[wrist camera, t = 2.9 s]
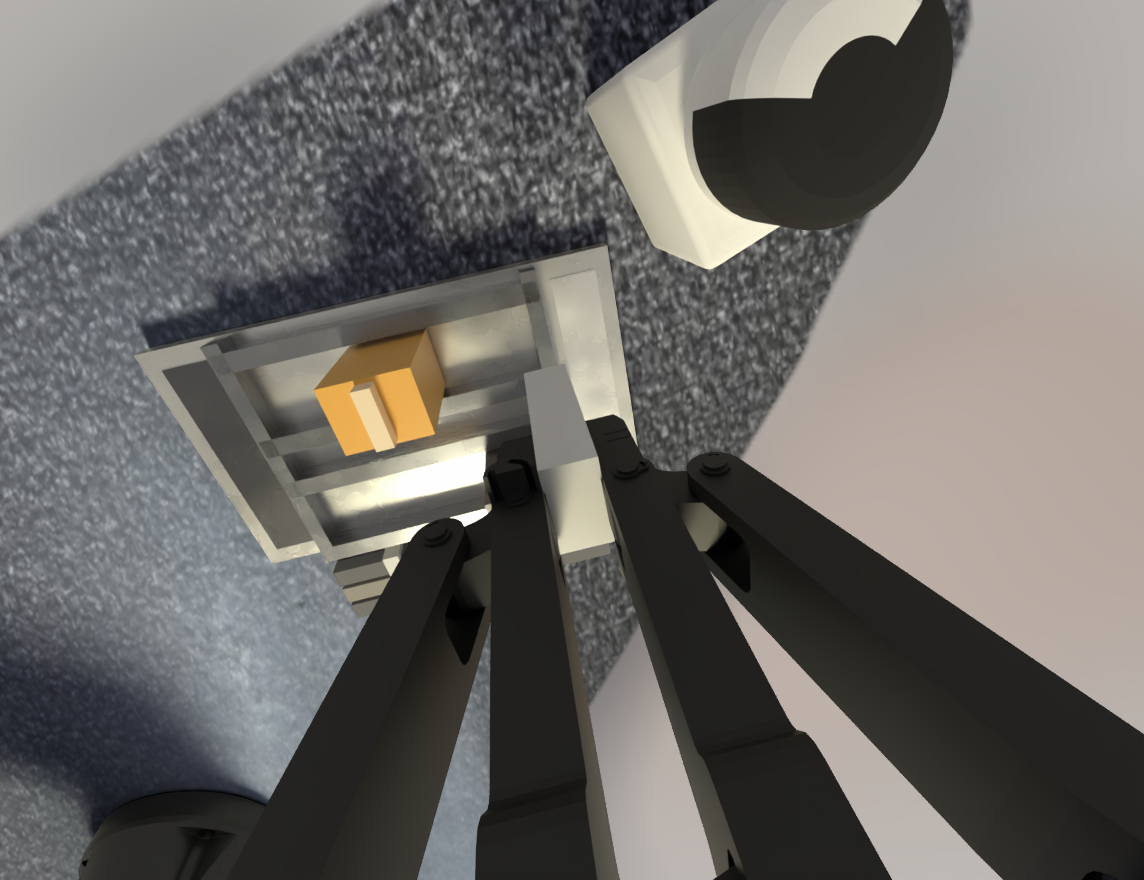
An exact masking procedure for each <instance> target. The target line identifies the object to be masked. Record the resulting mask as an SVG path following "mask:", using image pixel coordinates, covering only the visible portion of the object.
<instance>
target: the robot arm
mask: <svg viewBox="0 0 1144 880" xmlns="http://www.w3.org/2000/svg"><path fill="white" fill-rule="evenodd" d="M524 380H525V387H526V394H527V401H528V408H529V415H530V422H531V430H532V435H529V436H525V437H521V438H516V439H512V440H508V441H504V442H503V443H502V445H501V446H500V448H499V449H498V451H497V462H496V463H494V464H492V465H490V466H489V467H488V468H487V469H486V470H485V471H484V474H483V477H482V479H483V482H484V485H485V487H486V490H487V493H488V496H489V499H490V502H491V511H490V512H489V513H488V514H486V515H485V516H484V517H482V518H480V519H479V520H477V521H475V522H473V523H471V524H468V525H466V526H464V525H463V523H462V521H460V520H458V519H456V518H443V519H438V520H435V521H432V522H430V523H428V524H426V525H425V526H423V527H422V528H421V529H419V530H418V531H417V532H416V533H415V535H414V536H413V537H412V538H411V540H410V542H409V544H408V546H407V548H406V550H405V551H404V553H403V555H402V557H401V559H400V561H399V562H398V564H397V566H396V568H395V570H394V572H393V573H392V575H391V577H390V579H389V581H388V583H387V584H386V586H385V588H384V590H383V592H382V594H381V596H380V597H379V599H378V601H377V603H376V605H375V607H374V608H373V610H372V612H371V614H370V616H369V618H368V619H367V621H366V623H365V625H364V627H363V629H362V630H361V632H360V634H359V636H358V638H357V640H356V641H355V643H354V645H353V647H352V649H351V651H350V653H349V654H348V656H347V658H346V660H345V662H344V664H343V665H342V667H341V669H340V671H339V673H338V675H337V676H336V678H335V680H334V682H333V684H332V686H331V687H330V689H329V691H328V693H327V695H326V697H325V699H324V700H323V702H322V704H321V706H320V708H319V710H318V711H317V713H316V715H315V717H314V719H313V721H312V722H311V724H310V726H309V728H308V730H307V732H306V733H305V735H304V737H303V739H302V741H301V743H300V744H299V746H298V748H297V750H296V752H295V754H294V756H293V757H292V759H291V761H290V763H289V765H288V767H287V768H286V770H285V772H284V774H283V776H282V778H281V779H280V781H279V783H278V785H277V787H276V789H275V790H274V792H273V794H272V796H271V798H270V800H269V802H268V803H267V805H266V807H265V806H263V805H261V804H259V803H257V802H254V801H251V800H248V799H245V798H242V797H238V796H233V795H228V794H222V793H214V792H197V791H190V792H173V793H165V794H159V795H154V796H150V797H146V798H142V799H139V800H136V801H133V802H131V803H128V804H126V805H124V806H122V807H120V808H118V809H117V810H115V811H114V812H112V813H111V814H110V815H109V816H107V817H106V818H105V820H104V821H103V822H102V824H101V825H100V827H99V828H98V830H97V832H96V833H95V835H94V837H93V838H92V840H91V842H90V844H89V845H88V847H87V849H86V850H85V852H84V855H83V857H82V859H81V863H80V867H79V877H80V878H79V880H417V877H418V874H419V870H420V867H421V863H422V860H423V856H424V853H425V849H426V846H427V842H428V839H429V835H430V832H431V828H432V825H433V821H434V818H435V814H436V811H437V807H438V804H439V800H440V797H441V793H442V790H443V786H444V783H445V779H446V776H447V772H448V769H449V765H450V762H451V758H452V755H453V751H454V748H455V744H456V741H457V737H458V734H459V730H460V727H461V723H462V720H463V716H464V713H465V709H466V706H467V702H468V699H469V695H470V692H471V688H472V685H473V681H474V678H475V674H476V671H477V667H478V664H479V660H480V657H481V653H482V650H483V646H484V643H485V640H486V636H487V633H488V629H489V626H490V622H491V655H490V796H489V805H488V809H487V811H486V812H485V813H484V814H483V815H482V816H481V817H480V821H479V825H478V830H477V842H476V869H475V880H620V878H619V874H618V869H617V864H616V859H615V854H614V848H613V842H612V837H611V831H610V826H609V820H608V814H607V809H606V803H605V797H604V792H603V786H602V780H601V775H600V769H599V764H598V758H597V752H596V747H595V741H594V735H593V730H592V724H591V718H590V713H589V707H588V701H587V696H586V690H585V684H584V679H583V673H582V667H581V662H580V656H579V650H578V645H577V639H576V633H575V628H574V622H573V616H572V611H571V605H570V599H569V594H568V588H567V583H566V577H565V571H564V567H563V563H562V559H561V556H560V555H561V554H565V553H569V552H573V551H577V550H582V549H586V548H590V547H594V546H598V545H602V544H606V543H610V542H614V541H615V543H616V548H617V553H618V558H619V563H620V568H621V573H622V576H623V575H624V576H625V579H626V582H627V585H628V589H629V592H630V595H631V598H632V601H633V604H634V608H635V611H636V614H637V617H638V620H639V624H640V627H641V630H642V633H643V636H644V639H645V642H646V646H647V649H648V652H649V655H650V659H651V662H652V665H653V668H654V671H655V674H656V677H657V680H658V684H659V687H660V690H661V693H662V697H663V700H664V703H665V706H666V709H667V712H668V716H669V719H670V722H671V725H672V729H673V732H674V735H675V738H676V741H677V744H678V747H679V750H680V754H681V757H682V760H683V764H684V767H685V770H686V773H687V776H688V779H689V783H690V786H691V789H692V792H693V795H694V798H695V802H696V805H697V808H698V811H699V814H700V818H701V821H702V824H703V827H704V830H705V834H706V837H707V840H708V844H709V848H710V851H711V855H712V859H713V863H714V867H715V871H716V875H717V877H716V878H715V879H714V880H892V879H891V877H890V875H889V873H888V871H887V870H886V868H885V866H884V864H883V863H882V861H881V859H880V857H879V855H878V854H877V852H876V850H875V848H874V846H873V844H872V843H871V841H870V839H869V837H868V835H867V834H866V832H865V830H864V828H863V826H862V825H861V823H860V821H859V820H858V818H857V816H856V814H855V812H854V811H853V809H852V807H851V805H850V803H849V801H848V800H847V798H846V796H845V794H844V792H843V791H842V789H841V787H840V785H839V783H838V782H837V780H836V778H835V776H834V775H833V773H832V771H831V769H830V767H829V765H828V764H827V762H826V760H825V758H824V757H823V755H822V754H821V752H820V750H819V749H818V747H817V746H816V744H815V743H814V741H813V740H812V739H811V738H810V737H809V736H808V735H807V733H806V732H802V731H798V730H796V729H795V728H794V727H793V726H792V724H791V723H790V721H789V719H788V718H787V716H786V714H785V712H784V710H783V708H782V707H781V705H780V703H779V701H778V699H777V697H776V695H775V693H774V691H773V689H772V688H771V686H770V684H769V682H768V680H767V678H766V676H765V674H764V672H763V671H762V669H761V667H760V665H759V663H758V661H757V659H756V658H755V656H754V654H753V652H752V650H751V648H750V646H749V644H748V643H747V640H746V639H745V637H744V635H743V633H742V631H741V629H740V627H739V625H738V623H737V622H736V620H735V618H734V616H733V614H732V612H731V611H730V609H729V606H728V605H727V603H726V601H725V599H724V597H723V595H722V593H721V592H720V589H719V588H718V586H717V584H716V582H715V580H714V578H713V576H712V574H711V572H712V573H713V574H714V576H715V577H716V578H717V579H718V580H719V581H720V582H721V583H722V584H723V585H724V586H725V587H726V588H727V589H728V590H729V592H730V593H731V594H732V595H733V596H734V597H735V598H736V599H737V600H738V601H739V602H740V603H741V604H742V605H743V606H744V607H745V609H746V610H747V611H748V612H749V613H750V614H751V615H752V616H753V617H754V618H755V619H756V620H757V621H758V622H759V623H760V624H761V625H762V626H763V628H764V629H765V630H766V631H767V632H768V633H769V634H770V635H771V636H772V637H773V638H774V639H775V640H776V641H777V642H778V643H779V644H780V646H781V647H782V648H783V649H784V650H785V651H787V653H788V654H789V655H790V656H791V657H792V658H793V659H794V660H795V661H796V663H797V664H799V666H800V667H801V668H802V669H803V670H804V671H805V672H806V673H807V674H808V675H809V676H810V677H811V678H812V679H813V680H814V682H815V683H816V684H817V685H818V686H819V687H820V688H821V689H822V690H823V691H824V692H825V693H826V694H827V695H828V696H829V697H830V699H831V700H832V701H833V702H834V703H835V704H836V705H837V706H838V707H839V708H840V709H841V710H842V711H843V712H844V713H845V714H846V715H847V716H848V717H849V719H851V721H852V722H853V723H854V724H855V725H856V726H857V727H858V728H859V729H860V730H861V731H862V732H863V733H864V735H865V736H866V737H867V738H868V739H869V740H870V741H871V742H872V743H873V744H874V745H875V746H876V747H877V748H878V749H879V750H880V751H881V753H882V754H883V755H884V756H885V757H886V758H887V759H888V760H889V761H890V762H891V763H892V764H893V765H894V766H895V767H896V768H897V769H898V770H899V772H900V773H901V774H902V775H903V776H904V777H905V778H906V779H907V780H908V781H909V782H910V783H911V784H912V785H913V786H914V787H915V789H916V790H917V791H918V792H919V793H920V794H921V795H922V796H923V797H924V798H925V799H926V800H927V801H928V802H929V803H930V804H931V805H932V807H933V808H934V809H935V810H936V811H937V812H938V813H939V814H940V815H941V816H942V817H943V818H944V819H945V820H946V821H947V822H948V823H949V825H951V827H952V828H953V829H954V830H955V831H956V832H957V833H958V834H959V835H960V836H961V837H962V838H963V839H964V840H965V841H966V843H968V845H969V846H970V847H971V848H972V849H973V850H974V851H975V852H976V853H977V854H978V855H979V856H980V857H981V858H982V859H983V860H984V861H985V862H986V863H987V864H988V865H989V866H990V867H991V868H992V869H993V870H994V871H995V872H996V873H997V874H998V875H999V876H1000V877H1001V878H1002V879H1003V880H1144V734H1143V733H1141V732H1140V731H1138V730H1137V729H1135V728H1134V727H1132V726H1131V725H1130V724H1128V723H1126V722H1125V721H1124V720H1122V719H1121V718H1119V717H1118V716H1116V715H1115V714H1113V713H1112V712H1110V711H1109V710H1107V709H1106V708H1105V707H1103V706H1102V705H1100V704H1099V703H1097V702H1096V701H1094V700H1093V699H1091V698H1090V697H1088V696H1087V695H1086V694H1084V693H1083V692H1081V691H1080V690H1078V689H1077V688H1075V687H1074V686H1072V685H1071V684H1069V683H1068V682H1066V681H1065V680H1064V679H1062V678H1061V677H1059V676H1058V675H1056V674H1055V673H1053V672H1052V671H1050V670H1049V669H1047V668H1046V667H1044V666H1043V665H1042V664H1040V663H1038V662H1037V661H1035V660H1034V659H1033V658H1031V657H1030V656H1028V655H1027V654H1025V653H1024V652H1022V651H1021V650H1019V649H1018V648H1017V647H1015V646H1014V645H1012V644H1011V643H1009V642H1008V641H1006V640H1005V639H1003V638H1002V637H1000V636H999V635H997V634H996V633H995V632H993V631H992V630H990V629H989V628H987V627H986V626H984V625H983V624H981V623H980V622H978V621H977V620H975V619H974V618H973V617H971V616H969V615H968V614H967V613H965V612H964V611H962V610H961V609H959V608H958V607H956V606H955V605H953V604H952V603H950V602H949V601H948V600H946V599H945V598H943V597H942V596H940V595H938V594H937V593H936V592H934V591H933V590H931V589H930V588H928V587H927V586H926V585H924V584H923V583H921V582H920V581H918V580H917V579H915V578H914V577H912V576H911V575H909V574H908V573H907V572H905V571H904V570H902V569H901V568H899V567H898V566H896V565H895V564H893V563H892V562H890V561H889V560H887V559H886V558H884V557H883V556H882V555H880V554H879V553H877V552H875V551H874V550H873V549H871V548H870V547H868V546H867V545H865V544H864V543H862V542H861V541H859V540H858V539H857V538H855V537H854V536H852V535H851V534H849V533H848V532H846V531H845V530H843V529H842V528H840V527H839V526H838V525H836V524H835V523H833V522H832V521H830V520H829V519H827V518H826V517H824V516H823V515H821V514H820V513H818V512H817V511H816V510H814V509H812V508H811V507H810V506H808V505H807V504H805V503H804V502H802V501H801V500H799V499H798V498H796V497H795V496H794V495H792V494H791V493H789V492H788V491H786V490H785V489H783V488H782V487H780V486H779V485H777V484H776V483H774V482H773V481H772V480H770V479H769V478H767V477H766V476H764V475H763V474H761V473H760V472H758V471H757V470H755V469H754V468H752V467H751V466H749V465H748V464H747V463H745V462H744V461H742V460H741V459H739V458H738V457H736V456H733V455H731V454H728V453H722V452H710V453H705V454H701V455H698V456H697V457H695V458H693V459H691V461H690V462H689V463H688V465H687V471H677V472H672V471H662V470H658V469H655V467H654V465H653V464H652V463H651V462H650V461H649V460H647V459H644V458H643V456H642V454H641V452H640V450H639V448H638V447H637V445H636V443H635V441H634V439H633V437H632V435H631V433H630V431H629V430H628V427H627V425H626V423H625V421H624V420H623V419H621V418H620V417H618V416H616V415H614V414H612V415H608V416H604V417H599V418H595V419H591V420H587V421H585V419H584V416H583V414H582V411H581V408H580V405H579V402H578V400H577V397H576V394H575V391H574V388H573V386H572V383H571V380H570V377H569V374H568V372H567V369H566V366H565V364H561V365H557V366H552V367H548V368H544V369H540V370H536V371H531V372H527V373H524ZM614 538H615V540H614ZM709 570H710V571H711V572H710V571H709Z"/></svg>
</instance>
